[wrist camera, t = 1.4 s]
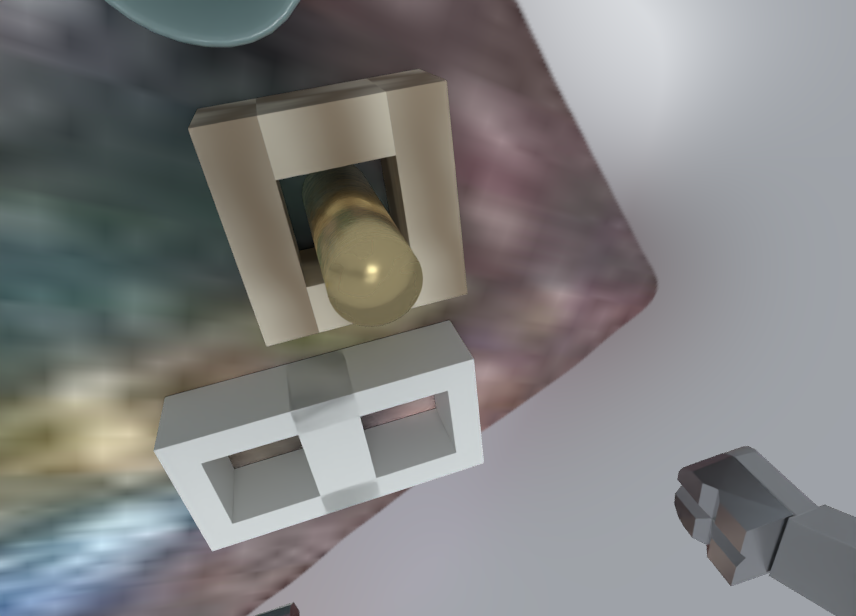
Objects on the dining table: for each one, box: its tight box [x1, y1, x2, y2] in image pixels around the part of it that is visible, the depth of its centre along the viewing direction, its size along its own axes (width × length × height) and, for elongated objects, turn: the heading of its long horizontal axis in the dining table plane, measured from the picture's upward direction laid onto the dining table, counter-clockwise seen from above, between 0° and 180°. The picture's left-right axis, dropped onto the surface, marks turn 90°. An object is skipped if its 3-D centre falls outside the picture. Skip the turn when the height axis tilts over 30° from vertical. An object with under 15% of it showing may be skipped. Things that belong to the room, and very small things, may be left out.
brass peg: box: [302, 165, 423, 326], centre depth 26 cm, size 4×4×12 cm
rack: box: [154, 320, 484, 551], centre depth 37 cm, size 20×10×5 cm, turn 97°
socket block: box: [188, 69, 467, 346], centre depth 29 cm, size 12×12×5 cm
